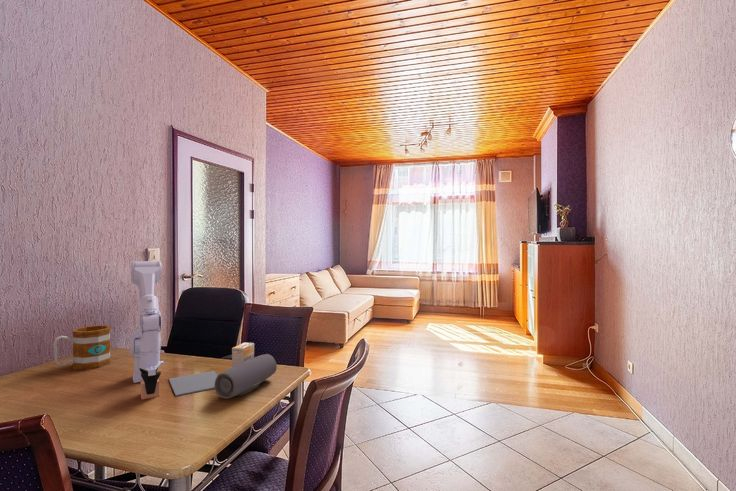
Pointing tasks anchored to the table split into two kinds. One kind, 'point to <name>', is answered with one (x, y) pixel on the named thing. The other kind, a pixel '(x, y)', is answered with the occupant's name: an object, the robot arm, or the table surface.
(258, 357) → the bluetooth speaker
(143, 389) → the terracotta cube
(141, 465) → the table surface
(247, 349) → the supplement box
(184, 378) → the gray placemat
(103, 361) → the mug
